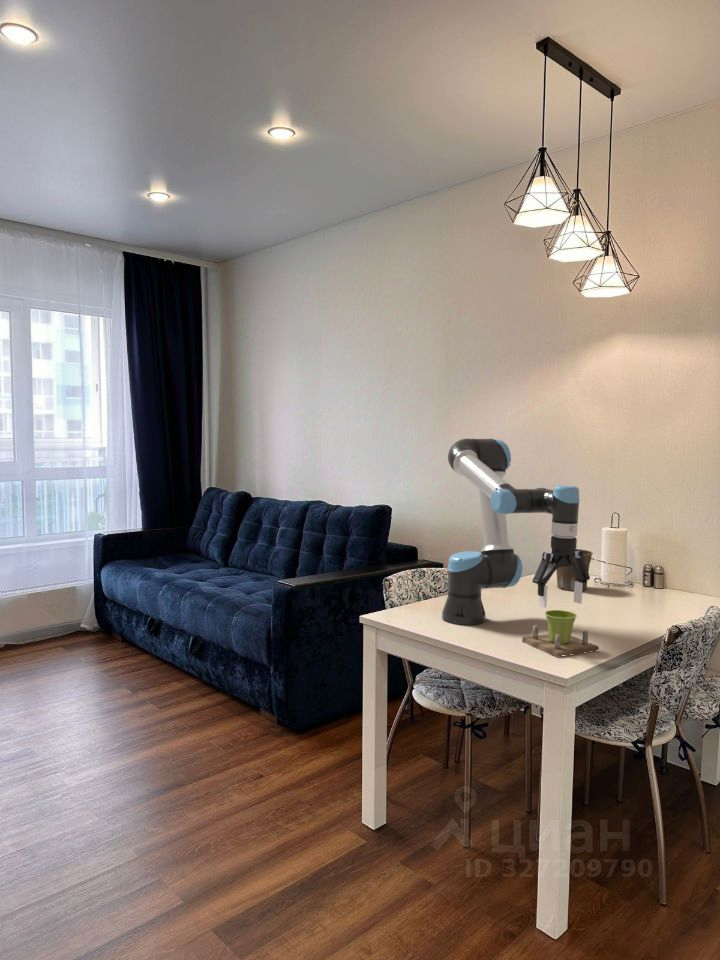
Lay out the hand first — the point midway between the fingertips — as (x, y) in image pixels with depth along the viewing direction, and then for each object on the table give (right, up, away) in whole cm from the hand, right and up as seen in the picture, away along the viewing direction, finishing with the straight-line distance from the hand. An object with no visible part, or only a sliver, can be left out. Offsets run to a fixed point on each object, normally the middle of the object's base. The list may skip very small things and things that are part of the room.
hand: (560, 604), depth 207 cm
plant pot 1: (+30, -9, +84) cm, 89 cm away
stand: (0, -13, 0) cm, 13 cm away
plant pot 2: (0, -12, 0) cm, 12 cm away
